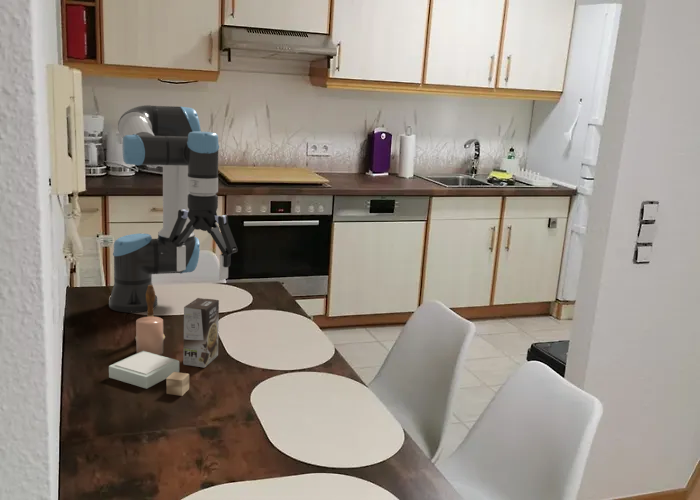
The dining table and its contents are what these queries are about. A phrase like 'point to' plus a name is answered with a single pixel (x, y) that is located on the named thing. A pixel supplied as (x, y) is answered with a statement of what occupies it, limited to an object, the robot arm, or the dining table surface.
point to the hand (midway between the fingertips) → (202, 274)
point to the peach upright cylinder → (149, 335)
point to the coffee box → (201, 332)
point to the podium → (143, 369)
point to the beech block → (177, 383)
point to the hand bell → (150, 302)
